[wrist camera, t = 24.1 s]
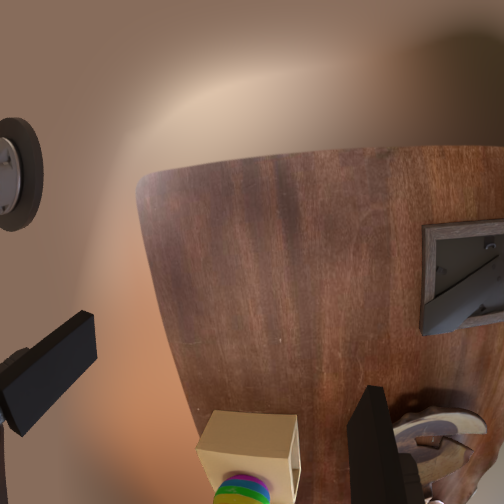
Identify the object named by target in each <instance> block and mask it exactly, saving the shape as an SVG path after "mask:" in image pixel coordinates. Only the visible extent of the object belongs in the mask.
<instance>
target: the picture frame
mask: <svg viewBox="0 0 504 504" xmlns="http://www.w3.org/2000/svg"><path fill="white" fill-rule="evenodd" d="M502 321H504V219H494V220H481V221H468V222H455V223H443V224H431V225H422V290H421V309H420V323H419V329H420V331H421V334H422V336H427V335H434V334H442V333H448V332H453V331H454V330H456V329H463V328H469V327H475V326H481V325H486V324H492V323H497V322H502Z"/></svg>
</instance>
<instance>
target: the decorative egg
mask: <svg viewBox="0 0 504 504" xmlns="http://www.w3.org/2000/svg"><path fill="white" fill-rule="evenodd" d="M213 504H270V494H269V491H268V488H267V487H266V485H265V484H264V483H263V482H262V481H261V480H260V479H258V478H256V477H253V476H249V475H235V476H232V477H230V478H228V479H227V480H225V481H224V482H223V483H222V484H221V485H220V486H219V488H218V489H217V491H216V493H215V496H214V500H213Z"/></svg>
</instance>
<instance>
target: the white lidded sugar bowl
mask: <svg viewBox="0 0 504 504" xmlns="http://www.w3.org/2000/svg"><path fill="white" fill-rule="evenodd" d="M428 504H444V503H442V502H441V501H430V502H428Z"/></svg>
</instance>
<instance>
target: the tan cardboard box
mask: <svg viewBox="0 0 504 504" xmlns="http://www.w3.org/2000/svg"><path fill="white" fill-rule="evenodd" d="M195 450H196V452H197V454H198V457H199V459H200V461H201V463H202V466H203V468H204V470H205V473H206V475H207V477H208V479H209V481H210V484H211V486H212V488H213V490H214V492H215V493H216V491H217V489H218V488H219V486H220V485H221V484H222V483H223V482H224V481H225V480H227V479H228V478H230V477H232V476H235V475H249V476H253V477H256V478H258V479H260V480H261V481H262V482H263V483H264V484H265V485H266V487H267V488H268V491H269V494H270V504H295V499H296V494H297V489H298V483H299V478H300V472H301V464H300V450H299V436H298V423H297V415H285V414H260V413H245V412H232V411H221V410H214V411H213V413H212V415H211V417H210V419H209V422H208V424H207V426H206V428H205V430H204V432H203V434H202V436H201V438H200V440H199V442H198V444H197V446H196V448H195Z"/></svg>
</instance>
